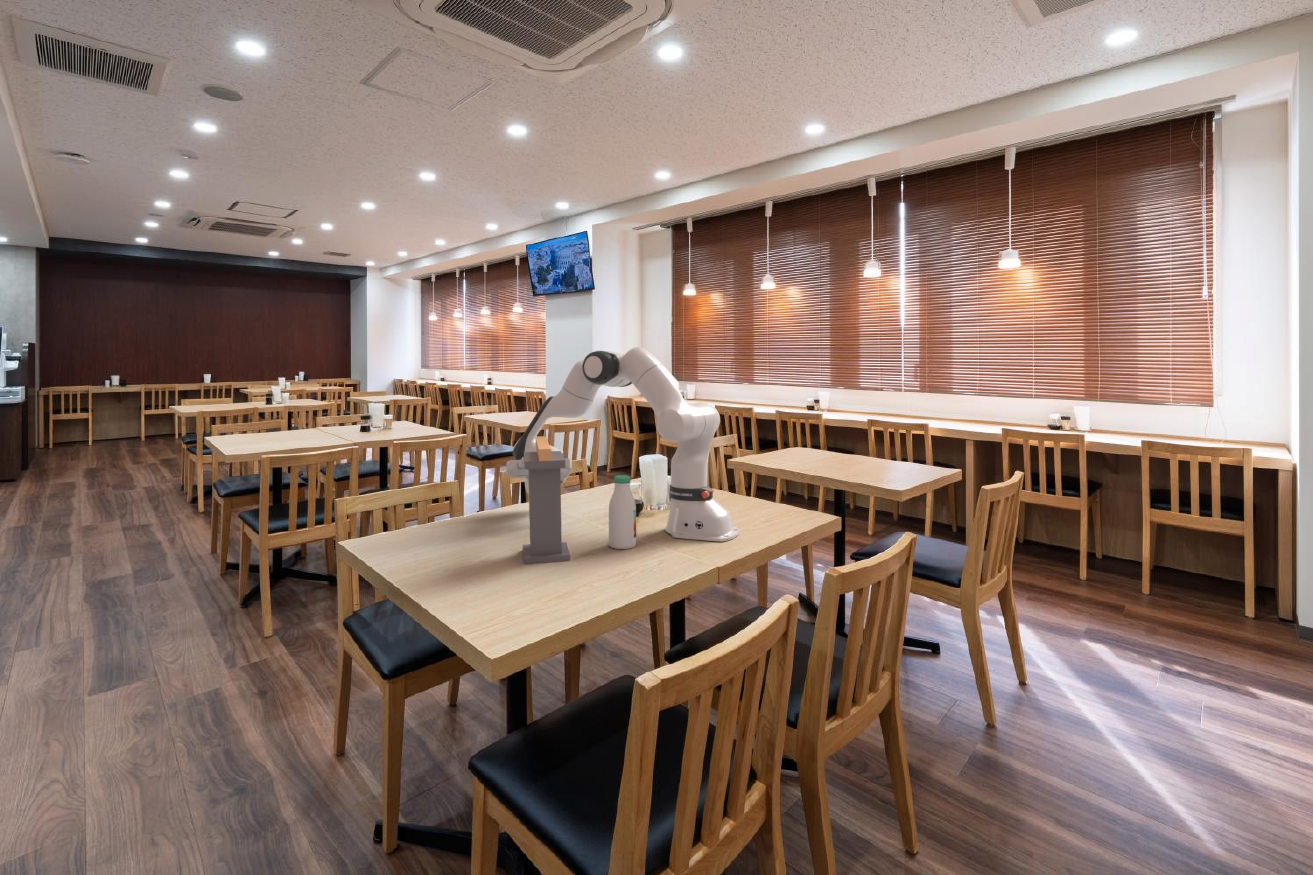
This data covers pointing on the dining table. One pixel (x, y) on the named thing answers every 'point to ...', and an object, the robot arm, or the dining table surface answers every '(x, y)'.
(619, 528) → the milk bottle
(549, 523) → the stand
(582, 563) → the dining table surface
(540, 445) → the bar
